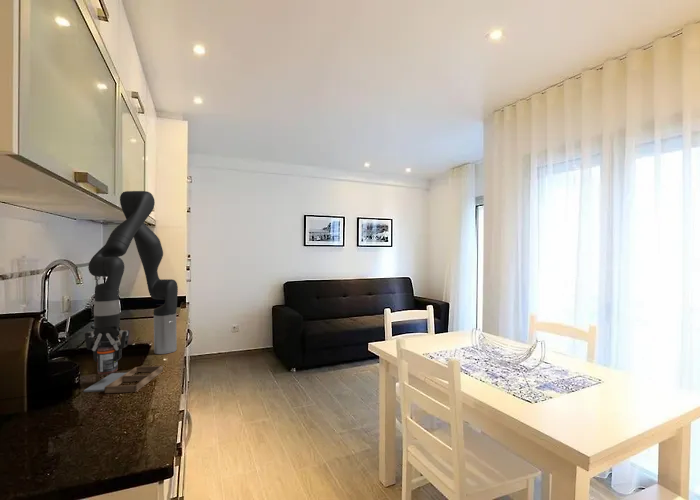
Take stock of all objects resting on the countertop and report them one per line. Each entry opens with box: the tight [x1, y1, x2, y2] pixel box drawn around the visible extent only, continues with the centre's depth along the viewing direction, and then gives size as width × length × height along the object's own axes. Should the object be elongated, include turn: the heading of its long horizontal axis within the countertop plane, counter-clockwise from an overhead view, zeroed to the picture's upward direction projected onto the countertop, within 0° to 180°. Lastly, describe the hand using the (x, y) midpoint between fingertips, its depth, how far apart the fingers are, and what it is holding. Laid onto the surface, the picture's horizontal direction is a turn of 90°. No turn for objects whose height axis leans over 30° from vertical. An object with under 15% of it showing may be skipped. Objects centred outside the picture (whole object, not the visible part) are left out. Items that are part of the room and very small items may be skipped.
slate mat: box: [83, 372, 127, 393], centre depth 123 cm, size 16×6×1 cm, turn 6°
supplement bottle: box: [96, 341, 119, 376], centre depth 123 cm, size 6×6×11 cm
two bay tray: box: [104, 365, 164, 394], centre depth 124 cm, size 20×10×2 cm, turn 6°
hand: (107, 360), depth 123 cm, fingers closed on supplement bottle, 6 cm apart
